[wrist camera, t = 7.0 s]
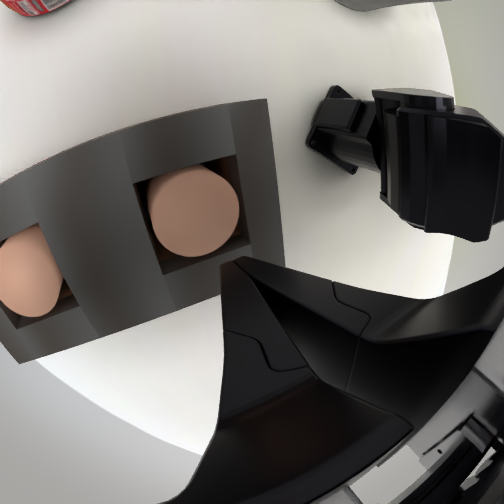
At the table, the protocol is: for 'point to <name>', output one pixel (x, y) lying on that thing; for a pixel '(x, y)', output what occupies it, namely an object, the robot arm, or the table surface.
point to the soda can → (33, 6)
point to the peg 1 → (29, 273)
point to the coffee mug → (378, 3)
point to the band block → (136, 223)
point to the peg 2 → (191, 210)
